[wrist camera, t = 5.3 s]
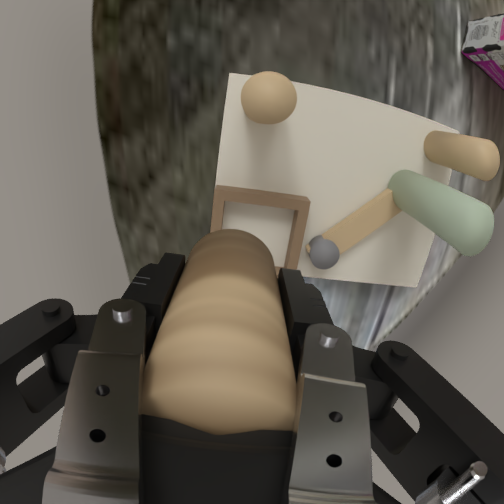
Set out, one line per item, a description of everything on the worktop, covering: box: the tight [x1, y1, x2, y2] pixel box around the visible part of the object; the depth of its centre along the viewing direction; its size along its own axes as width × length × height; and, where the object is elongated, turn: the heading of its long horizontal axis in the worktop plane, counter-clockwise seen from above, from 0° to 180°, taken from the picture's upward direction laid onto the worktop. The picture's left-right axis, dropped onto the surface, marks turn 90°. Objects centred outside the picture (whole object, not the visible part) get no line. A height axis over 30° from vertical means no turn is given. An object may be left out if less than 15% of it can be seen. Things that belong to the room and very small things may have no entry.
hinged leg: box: [305, 170, 494, 269], centre depth 20 cm, size 12×3×10 cm, turn 127°
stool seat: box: [210, 71, 500, 288], centre depth 22 cm, size 16×21×9 cm
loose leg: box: [142, 229, 296, 435], centre depth 9 cm, size 4×4×8 cm
